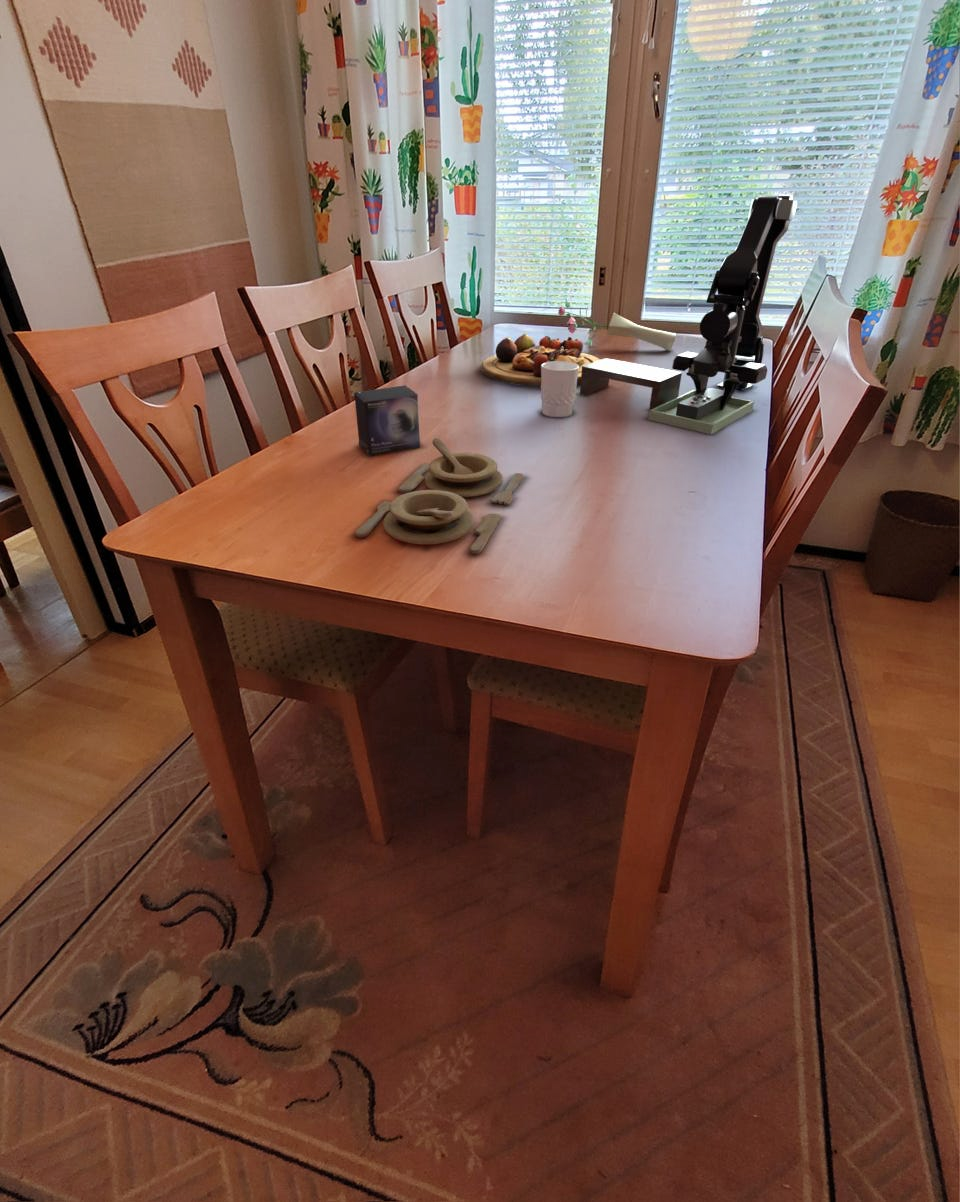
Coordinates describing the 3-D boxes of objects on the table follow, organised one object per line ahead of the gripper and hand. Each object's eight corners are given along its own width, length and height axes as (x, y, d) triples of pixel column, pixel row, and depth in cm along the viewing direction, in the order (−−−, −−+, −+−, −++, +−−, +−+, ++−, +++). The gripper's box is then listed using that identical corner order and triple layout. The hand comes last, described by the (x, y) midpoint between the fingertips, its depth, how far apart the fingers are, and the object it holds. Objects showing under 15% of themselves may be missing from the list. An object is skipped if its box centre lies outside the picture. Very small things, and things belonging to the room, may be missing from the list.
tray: (692, 398, 150) (693, 389, 149) (752, 410, 142) (754, 401, 141) (648, 419, 138) (649, 410, 136) (711, 434, 130) (713, 424, 128)
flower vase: (659, 379, 190) (546, 345, 194) (666, 357, 197) (557, 324, 201) (674, 343, 181) (554, 308, 184) (680, 321, 188) (565, 287, 191)
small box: (369, 457, 121) (363, 401, 115) (358, 446, 125) (352, 391, 119) (421, 447, 125) (418, 392, 119) (409, 437, 129) (405, 384, 123)
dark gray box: (707, 399, 145) (710, 386, 143) (727, 403, 142) (730, 389, 141) (675, 415, 136) (677, 401, 134) (696, 420, 133) (698, 406, 132)
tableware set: (478, 557, 90) (478, 518, 86) (349, 538, 94) (344, 501, 91) (527, 475, 113) (528, 442, 110) (422, 463, 118) (420, 431, 115)
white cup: (579, 409, 143) (583, 363, 138) (568, 420, 137) (572, 372, 132) (546, 405, 146) (548, 359, 140) (533, 415, 140) (535, 368, 135)
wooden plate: (591, 394, 153) (594, 358, 148) (464, 383, 162) (463, 348, 157) (613, 361, 178) (616, 329, 173) (502, 353, 187) (502, 322, 182)
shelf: (602, 385, 159) (605, 358, 155) (677, 401, 148) (682, 372, 144) (579, 394, 153) (581, 366, 149) (655, 411, 142) (659, 381, 138)
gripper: (665, 332, 134) (654, 407, 142) (754, 345, 123) (736, 426, 132) (690, 323, 141) (678, 396, 149) (776, 336, 130) (758, 412, 139)
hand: (711, 407), depth 142 cm, fingers closed on dark gray box, 5 cm apart
